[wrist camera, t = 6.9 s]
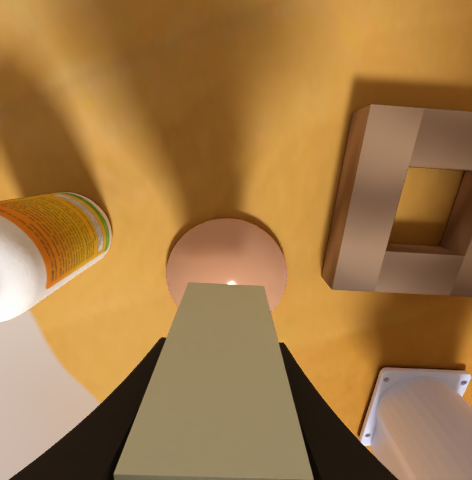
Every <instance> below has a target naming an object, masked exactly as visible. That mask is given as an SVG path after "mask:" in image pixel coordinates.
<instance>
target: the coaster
mask: <svg viewBox="0 0 472 480" xmlns="http://www.w3.org/2000/svg"><path fill="white" fill-rule="evenodd" d="M166 279H167V285H168V289H169V292H170V294H171V297H172V298H173V300H174V302H175V303H176V305H177V306H178V307H179V305H180V302H181V300H182V297H183V295H184V292H185V289H186V287H187V284H188V282H196V283H215V284H235V285H254V286H264V288H265V292H266V296H267V300H268V303H269V307H270V311H271V312H272V311H273V310H274V308H275V307H276V306H277V305H278V303H279V302H280V300H281V298H282V296H283V294H284V291H285V288H286V284H287V266H286V262H285V258H284V256H283V253H282V251H281V250H280V248H279V246H278V244H277V243H276V242H275V240H274V239H273V238H272V237H271V236H270V235H269V234H268V233H267V232H266V231H265V230H263V229H262V228H260V227H259V226H257V225H255V224H253V223H250V222H248V221H245V220H241V219H236V218H218V219H212V220H208V221H205V222H203V223H200V224H198V225H196V226H195V227H193V228H191V229H190V230H189V231H188V232H186V233H185V234H184V235H183V236H182V237H181V238H180V240H179V241H178V242H177V244H176V245H175V246H174V248H173V250H172V252H171V254H170V256H169V259H168V263H167V268H166Z"/></svg>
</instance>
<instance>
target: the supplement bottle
mask: <svg viewBox="0 0 472 480" xmlns="http://www.w3.org/2000/svg"><path fill="white" fill-rule="evenodd" d="M111 241H112V230H111V226H110V222H109V220H108V218H107V216H106V215H105V213H104V212H103V210H102V209H101V208H100V207H99V206H98V205H97V204H95V203H94V202H93V201H92V200H90V199H88V198H86V197H84V196H82V195H79V194H76V193H71V192H57V193H50V194H43V195H37V196H30V197H25V198H17V199H10V200H5V201H0V322H2V321H6V320H9V319H12V318H14V317H17V316H18V315H20V314H22V313H24V312H25V311H27V310H29V309H30V308H32V307H33V306H35V305H36V304H38V303H39V302H40V301H42V300H43V299H45V298H46V297H48V296H49V295H50V294H52V293H53V292H55V291H56V290H58V289H59V288H60V287H62V286H63V285H65V284H66V283H68V282H69V281H71V280H72V279H73V278H75V277H76V276H78V275H79V274H81V273H82V272H84V271H85V270H87V269H88V268H89V267H91V266H92V265H94V264H95V263H96V262H98V261H99V260H100V259H101V258H103V257H104V255H105V254H106V253H107V252H108V250H109V248H110V245H111Z"/></svg>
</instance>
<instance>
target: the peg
mask: <svg viewBox="0 0 472 480" xmlns="http://www.w3.org/2000/svg"><path fill="white" fill-rule="evenodd" d="M113 475H114V480H314V479H313V475H312V471H311V467H310V463H309V459H308V455H307V451H306V447H305V444H304V440H303V436H302V432H301V428H300V424H299V420H298V416H297V412H296V409H295V405H294V401H293V397H292V393H291V389H290V385H289V381H288V377H287V374H286V370H285V366H284V362H283V358H282V354H281V350H280V346H279V342H278V338H277V335H276V331H275V327H274V323H273V319H272V315H271V311H270V307H269V303H268V300H267V296H266V292H265V288H264V286H254V285H235V284H215V283H196V282H188V284H187V287H186V289H185V292H184V295H183V297H182V300H181V302H180V305H179V307H178V310H177V313H176V315H175V318H174V320H173V323H172V325H171V328H170V330H169V333H168V336H167V338H166V341H165V343H164V346H163V348H162V351H161V354H160V356H159V359H158V361H157V364H156V366H155V369H154V372H153V374H152V377H151V379H150V382H149V384H148V387H147V390H146V392H145V395H144V397H143V400H142V402H141V405H140V408H139V410H138V413H137V415H136V418H135V420H134V423H133V425H132V428H131V431H130V433H129V436H128V438H127V441H126V443H125V446H124V449H123V451H122V454H121V456H120V459H119V461H118V464H117V467H116V469H115V472H114V474H113Z"/></svg>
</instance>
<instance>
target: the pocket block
mask: <svg viewBox="0 0 472 480" xmlns="http://www.w3.org/2000/svg"><path fill="white" fill-rule="evenodd" d="M408 167H417V168H432V169H446V170H461V171H465V174H464V177H463V180H462V183H461V185H460V188H459V191H458V194H457V197H456V200H455V203H454V206H453V209H452V212H451V214H450V217H449V220H448V223H447V226H446V229H445V232H444V235H443V238H442V241H441V243H440V246H429V245H412V244H394V243H388V240H389V237H390V233H391V229H392V226H393V222H394V218H395V215H396V211H397V207H398V204H399V200H400V196H401V193H402V189H403V185H404V182H405V178H406V174H407V171H408ZM322 278H323V279H324V280H325V282H326V283H327V284H328V285H329V287H330V288H331V289H332V290H349V291H368V292H388V293H407V294H427V295H446V296H466V297H472V112H470V111H456V110H443V109H430V108H416V107H403V106H390V105H376V104H370V105H368V106H366V107H363V108H361V109H359V110H357V111H355V112H353V115H352V120H351V125H350V130H349V136H348V141H347V146H346V151H345V156H344V162H343V167H342V172H341V177H340V183H339V188H338V193H337V198H336V204H335V209H334V214H333V219H332V224H331V230H330V235H329V240H328V245H327V251H326V256H325V261H324V266H323V271H322Z"/></svg>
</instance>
